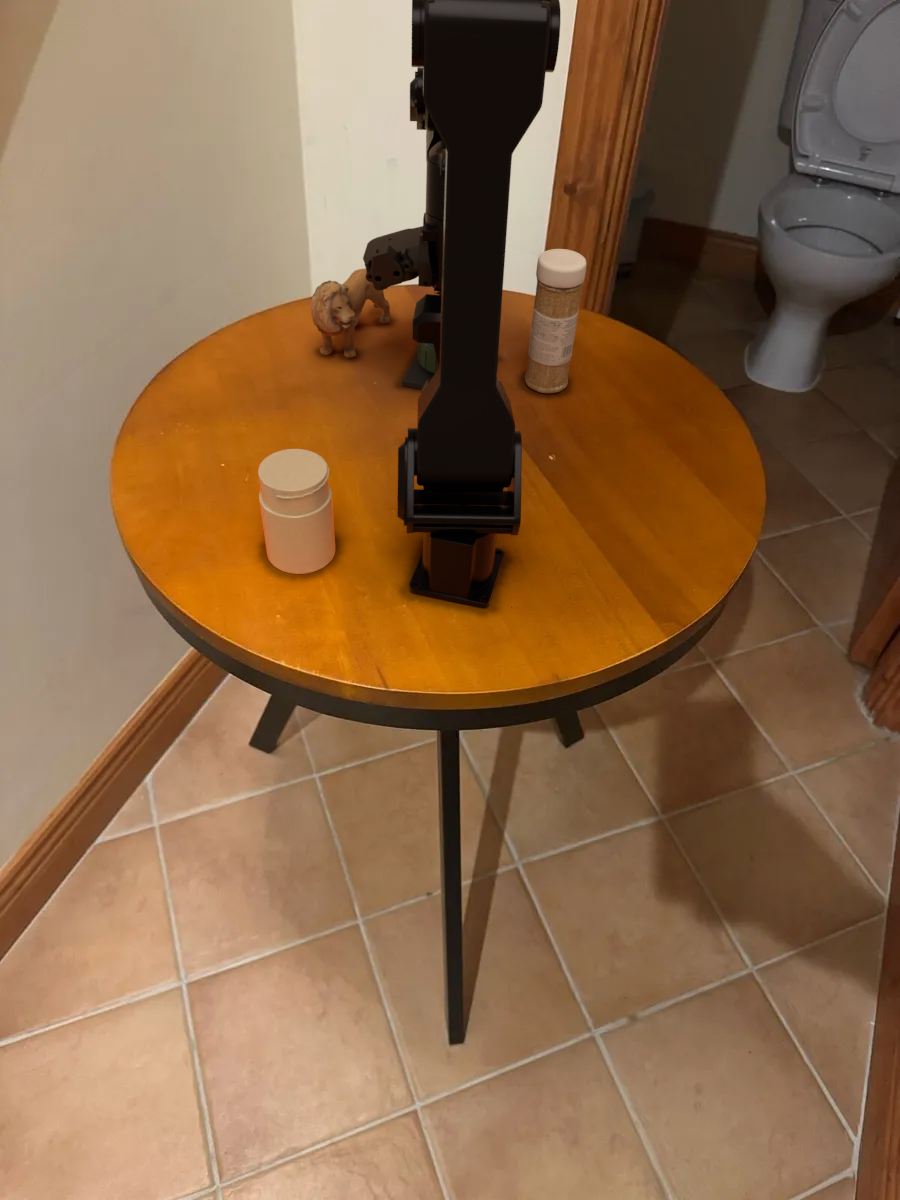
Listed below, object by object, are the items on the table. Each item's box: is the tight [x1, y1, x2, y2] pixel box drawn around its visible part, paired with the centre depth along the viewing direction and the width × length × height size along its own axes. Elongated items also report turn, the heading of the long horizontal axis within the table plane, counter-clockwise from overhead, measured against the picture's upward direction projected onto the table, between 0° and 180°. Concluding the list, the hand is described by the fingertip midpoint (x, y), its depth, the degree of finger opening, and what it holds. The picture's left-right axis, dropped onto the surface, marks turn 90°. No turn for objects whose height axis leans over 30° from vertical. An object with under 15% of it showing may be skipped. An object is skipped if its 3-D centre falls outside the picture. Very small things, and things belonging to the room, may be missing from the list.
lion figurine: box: [310, 267, 391, 359], centre depth 95 cm, size 15×5×9 cm, turn 164°
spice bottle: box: [524, 248, 587, 394], centre depth 89 cm, size 5×5×13 cm
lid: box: [416, 343, 439, 373], centre depth 92 cm, size 6×6×3 cm
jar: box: [257, 448, 337, 575], centre depth 71 cm, size 6×6×8 cm
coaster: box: [401, 354, 435, 390], centre depth 94 cm, size 8×8×1 cm
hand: (450, 362), depth 93 cm, fingers closed on lid, 6 cm apart
